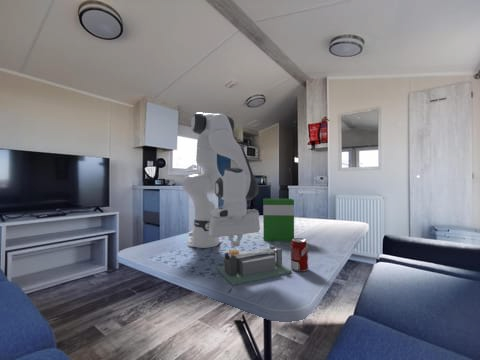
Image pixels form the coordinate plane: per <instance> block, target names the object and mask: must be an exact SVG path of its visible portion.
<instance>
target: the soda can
mask: <svg viewBox="0 0 480 360" xmlns="http://www.w3.org/2000/svg"><path fill="white" fill-rule="evenodd" d="M292 240H293V241H290V242H291V243H290V268H291V270H293V271H295V272H301V273H302V272H306V271H307V270H308V269H309V244H308V242H307V239H306V238H303V237H294V239H292Z"/></svg>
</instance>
